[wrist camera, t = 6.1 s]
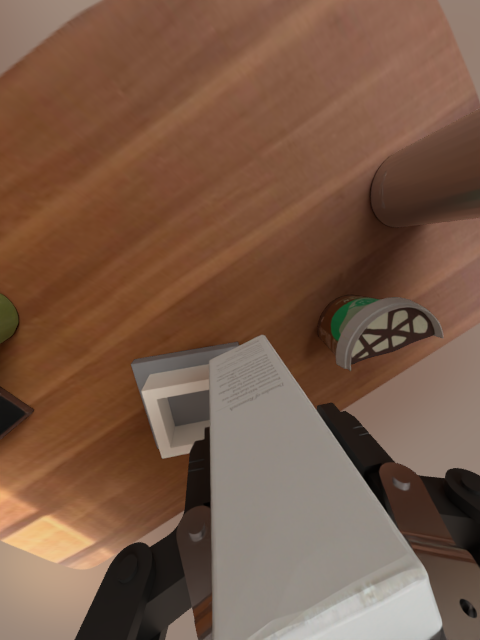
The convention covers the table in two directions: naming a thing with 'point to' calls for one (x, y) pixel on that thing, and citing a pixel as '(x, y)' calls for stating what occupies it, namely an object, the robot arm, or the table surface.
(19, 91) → the table surface
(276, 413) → the skincare box
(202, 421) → the box stand
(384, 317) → the food container
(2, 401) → the letter holder
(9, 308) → the plant pot
